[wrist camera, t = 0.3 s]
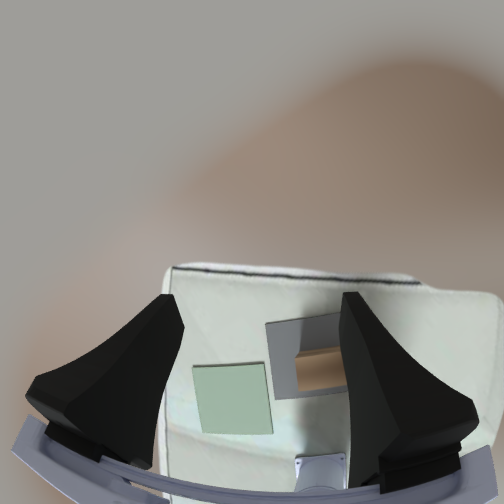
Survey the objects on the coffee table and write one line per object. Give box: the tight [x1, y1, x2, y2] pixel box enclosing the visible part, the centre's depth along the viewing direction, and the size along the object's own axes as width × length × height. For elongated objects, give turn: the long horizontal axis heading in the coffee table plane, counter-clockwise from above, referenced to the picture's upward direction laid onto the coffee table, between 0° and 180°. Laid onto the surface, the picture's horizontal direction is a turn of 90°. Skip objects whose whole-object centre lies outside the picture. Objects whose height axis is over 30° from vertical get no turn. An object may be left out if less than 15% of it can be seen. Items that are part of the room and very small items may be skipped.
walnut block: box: [295, 345, 347, 391], centre depth 34 cm, size 4×7×6 cm, turn 97°
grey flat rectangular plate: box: [265, 312, 348, 400], centre depth 37 cm, size 12×14×1 cm
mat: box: [192, 364, 273, 435], centre depth 39 cm, size 12×12×1 cm
